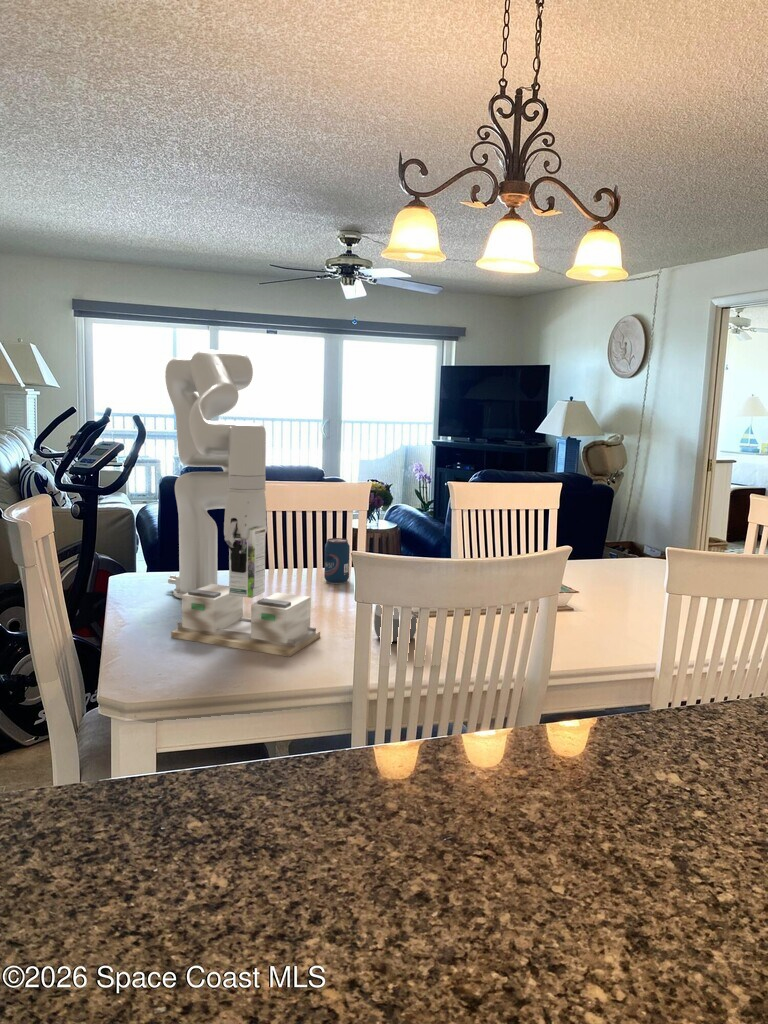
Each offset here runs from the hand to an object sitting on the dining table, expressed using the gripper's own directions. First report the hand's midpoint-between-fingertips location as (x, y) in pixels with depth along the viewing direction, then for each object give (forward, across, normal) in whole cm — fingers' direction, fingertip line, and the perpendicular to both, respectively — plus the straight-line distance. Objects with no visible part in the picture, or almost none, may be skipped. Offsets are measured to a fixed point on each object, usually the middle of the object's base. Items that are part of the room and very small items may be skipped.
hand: (246, 568), depth 155 cm
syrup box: (+6, 0, 0) cm, 6 cm away
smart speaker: (+15, -13, +29) cm, 35 cm away
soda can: (+15, -54, -3) cm, 56 cm away
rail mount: (+15, 0, 0) cm, 15 cm away
